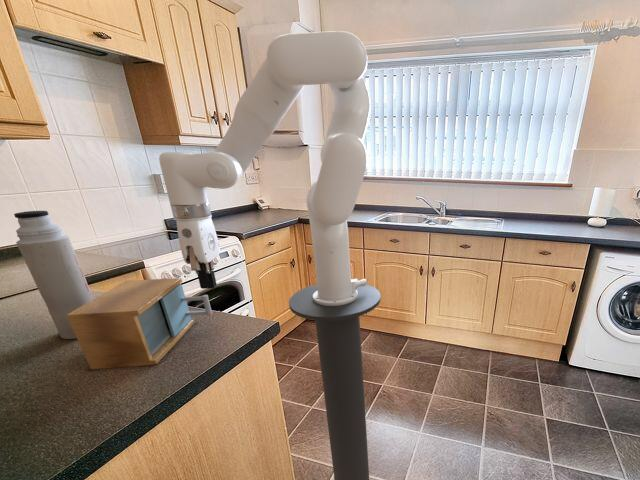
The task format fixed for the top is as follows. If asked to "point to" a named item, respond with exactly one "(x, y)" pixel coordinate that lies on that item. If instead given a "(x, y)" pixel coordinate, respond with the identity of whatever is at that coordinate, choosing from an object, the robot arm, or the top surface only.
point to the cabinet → (126, 325)
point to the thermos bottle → (53, 267)
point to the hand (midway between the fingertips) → (208, 287)
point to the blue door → (181, 309)
